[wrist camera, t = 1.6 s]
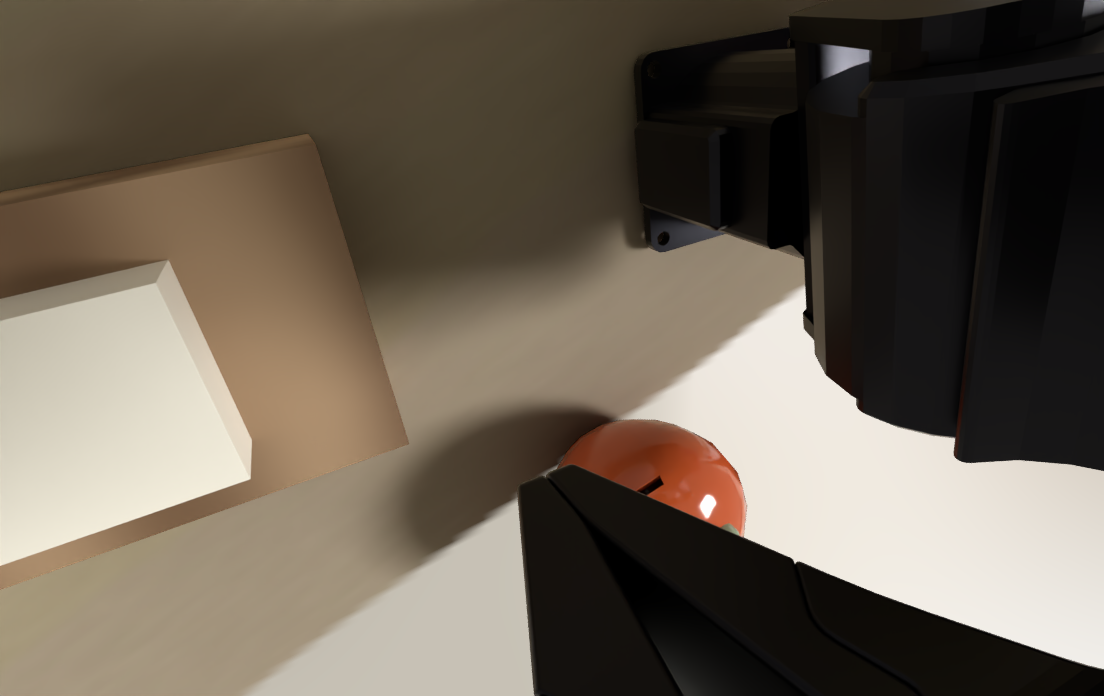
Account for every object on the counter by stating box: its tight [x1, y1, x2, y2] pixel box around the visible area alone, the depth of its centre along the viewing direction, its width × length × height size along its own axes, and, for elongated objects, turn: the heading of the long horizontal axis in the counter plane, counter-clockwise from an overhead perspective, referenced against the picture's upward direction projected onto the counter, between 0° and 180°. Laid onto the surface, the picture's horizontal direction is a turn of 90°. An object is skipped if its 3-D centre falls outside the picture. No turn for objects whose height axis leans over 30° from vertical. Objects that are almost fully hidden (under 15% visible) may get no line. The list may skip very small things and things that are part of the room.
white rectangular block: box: [0, 260, 252, 566], centre depth 13 cm, size 7×5×2 cm
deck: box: [0, 134, 409, 590], centre depth 15 cm, size 11×8×3 cm
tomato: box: [557, 420, 747, 537], centre depth 22 cm, size 7×7×8 cm
